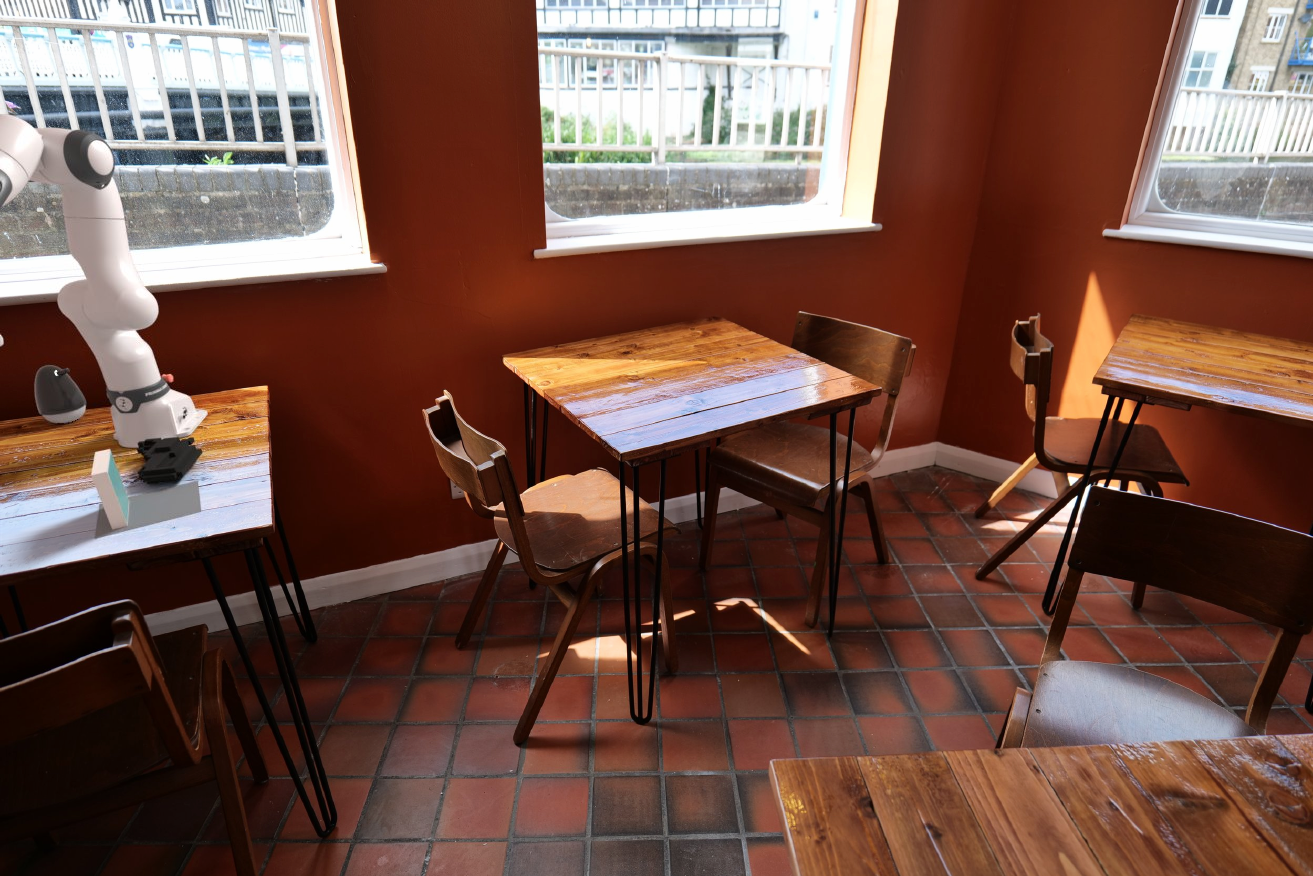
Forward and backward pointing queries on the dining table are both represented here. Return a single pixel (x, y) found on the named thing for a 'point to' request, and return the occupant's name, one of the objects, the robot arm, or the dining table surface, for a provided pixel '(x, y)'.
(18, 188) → the robot arm
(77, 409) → the penguin toy figure
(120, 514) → the tile
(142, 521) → the mat
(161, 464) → the tool
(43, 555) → the dining table surface
